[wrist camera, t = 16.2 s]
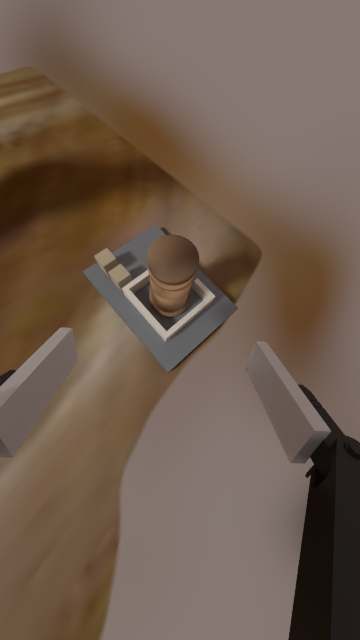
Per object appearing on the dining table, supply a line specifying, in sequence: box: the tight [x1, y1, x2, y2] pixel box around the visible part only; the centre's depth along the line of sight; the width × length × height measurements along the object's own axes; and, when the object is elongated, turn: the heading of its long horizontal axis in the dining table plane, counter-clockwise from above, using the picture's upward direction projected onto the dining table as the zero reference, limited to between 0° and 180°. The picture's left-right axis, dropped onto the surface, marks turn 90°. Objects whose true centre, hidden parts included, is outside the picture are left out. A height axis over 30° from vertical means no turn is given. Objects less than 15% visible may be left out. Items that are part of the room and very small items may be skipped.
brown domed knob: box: [147, 235, 199, 318], centre depth 26 cm, size 7×7×12 cm
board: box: [83, 225, 238, 372], centre depth 31 cm, size 22×16×4 cm
